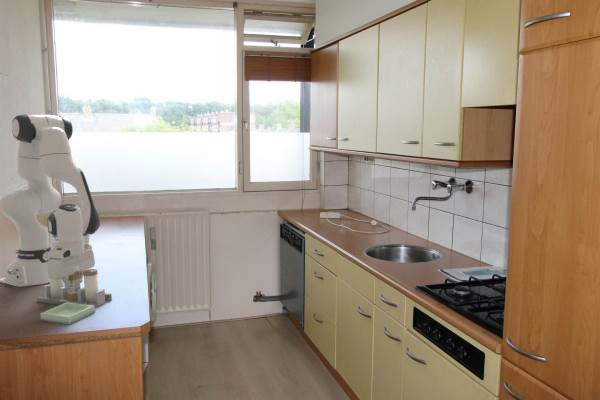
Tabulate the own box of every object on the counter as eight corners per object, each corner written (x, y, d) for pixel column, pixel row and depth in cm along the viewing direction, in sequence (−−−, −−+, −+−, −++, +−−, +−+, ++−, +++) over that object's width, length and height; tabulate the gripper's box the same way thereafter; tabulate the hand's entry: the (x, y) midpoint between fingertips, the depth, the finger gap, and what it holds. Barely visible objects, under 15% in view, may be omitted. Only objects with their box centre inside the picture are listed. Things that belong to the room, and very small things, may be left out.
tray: (41, 320, 178) (40, 313, 177) (67, 308, 189) (67, 302, 188) (69, 324, 174) (69, 317, 173) (94, 312, 185) (94, 305, 185)
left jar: (47, 299, 199) (45, 268, 197) (57, 296, 203) (55, 265, 202) (57, 301, 197) (55, 269, 196) (67, 297, 202) (65, 266, 200)
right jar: (82, 304, 194) (80, 272, 192) (91, 300, 198) (89, 268, 196) (92, 305, 192) (91, 273, 190) (101, 301, 196) (100, 269, 195)
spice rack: (37, 301, 197) (36, 288, 196) (58, 293, 207) (57, 280, 206) (92, 308, 189) (91, 295, 188) (111, 299, 198) (111, 287, 198)
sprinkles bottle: (78, 298, 201) (75, 263, 199) (83, 300, 198) (81, 265, 196) (65, 301, 197) (63, 265, 196) (71, 303, 194) (69, 268, 193)
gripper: (84, 242, 206) (86, 276, 208) (43, 254, 187) (46, 292, 188) (97, 243, 204) (99, 278, 205) (57, 255, 184) (60, 293, 186)
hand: (73, 284), depth 197 cm, fingers closed on sprinkles bottle, 4 cm apart
